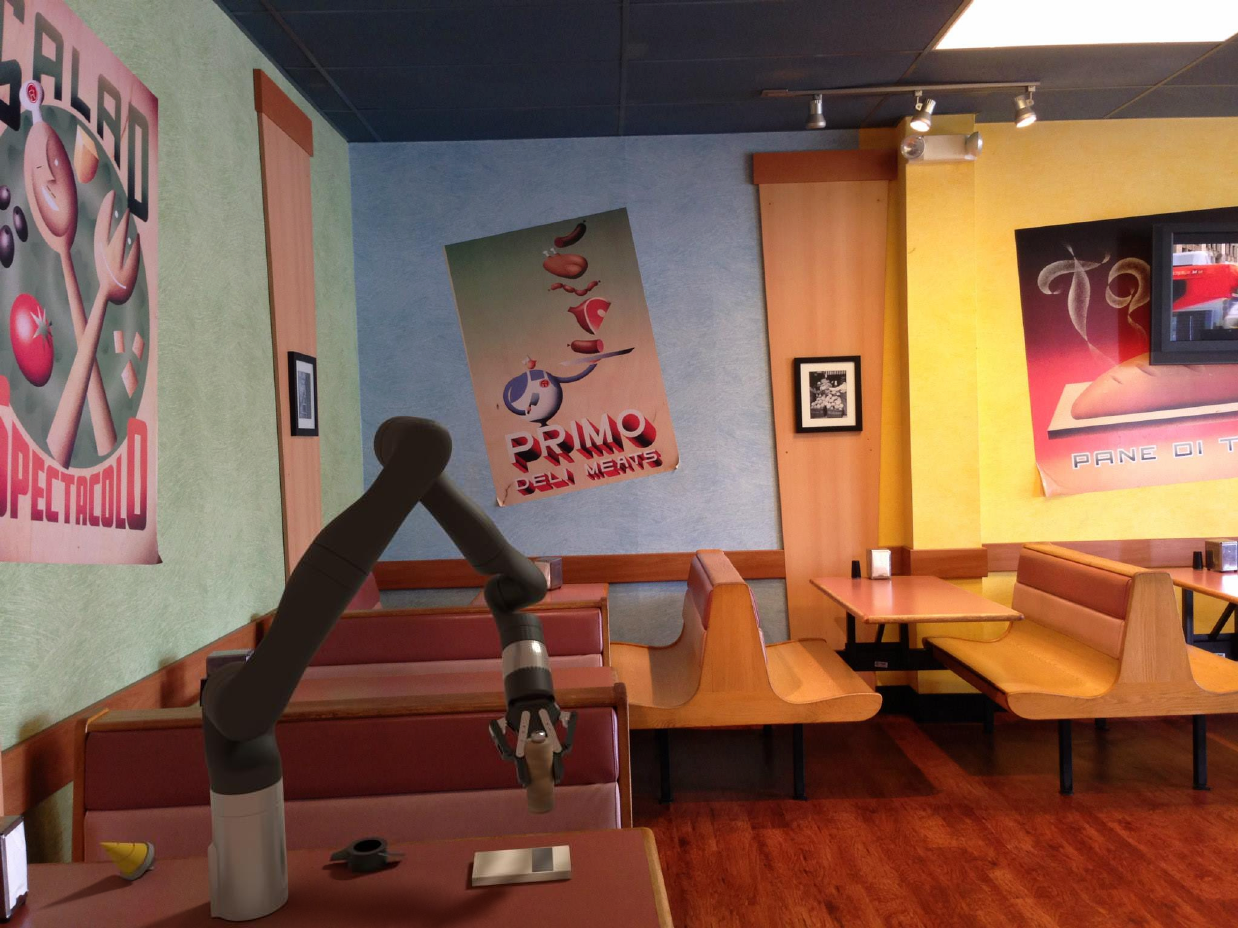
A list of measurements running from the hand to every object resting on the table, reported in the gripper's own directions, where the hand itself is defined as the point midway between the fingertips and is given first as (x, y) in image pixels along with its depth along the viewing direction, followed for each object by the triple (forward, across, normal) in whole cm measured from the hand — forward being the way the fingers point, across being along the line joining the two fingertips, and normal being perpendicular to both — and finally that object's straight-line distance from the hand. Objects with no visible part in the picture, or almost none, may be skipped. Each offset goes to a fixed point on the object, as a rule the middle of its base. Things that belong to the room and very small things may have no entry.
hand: (542, 782), depth 132 cm
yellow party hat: (-2, -59, +21) cm, 62 cm away
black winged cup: (+2, -25, +18) cm, 31 cm away
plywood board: (+8, -3, +11) cm, 14 cm away
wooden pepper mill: (+2, 0, +5) cm, 5 cm away
